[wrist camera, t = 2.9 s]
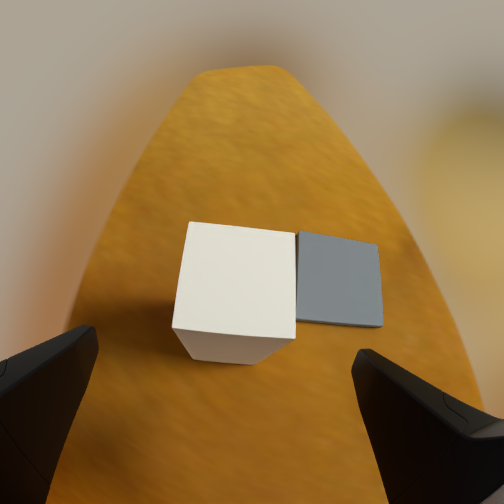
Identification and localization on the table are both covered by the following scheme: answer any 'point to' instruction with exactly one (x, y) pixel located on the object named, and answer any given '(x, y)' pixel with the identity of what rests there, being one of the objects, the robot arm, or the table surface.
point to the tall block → (235, 293)
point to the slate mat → (338, 281)
